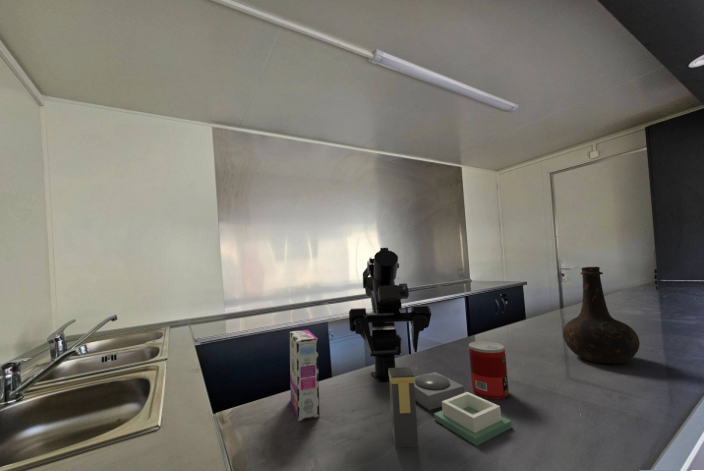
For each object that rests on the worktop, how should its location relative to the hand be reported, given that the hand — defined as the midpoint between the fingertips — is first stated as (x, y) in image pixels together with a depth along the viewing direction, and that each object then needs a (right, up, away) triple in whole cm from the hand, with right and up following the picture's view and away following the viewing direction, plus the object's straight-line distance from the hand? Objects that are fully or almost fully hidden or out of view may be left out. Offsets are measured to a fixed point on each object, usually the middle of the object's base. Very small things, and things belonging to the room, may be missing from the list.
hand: (394, 352), depth 61 cm
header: (+15, -12, -5) cm, 19 cm away
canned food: (+24, -13, +8) cm, 29 cm away
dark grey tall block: (+1, -12, -9) cm, 15 cm away
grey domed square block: (+10, -14, +8) cm, 19 cm away
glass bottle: (+67, -13, +26) cm, 73 cm away
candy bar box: (-20, -15, +5) cm, 25 cm away
